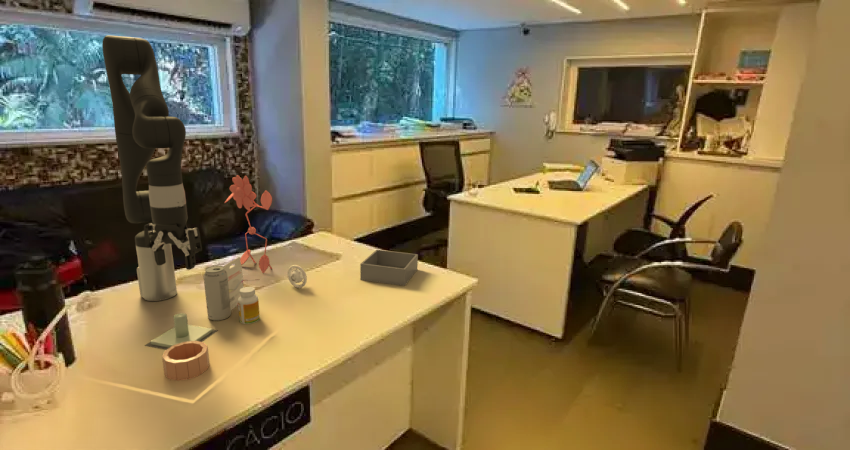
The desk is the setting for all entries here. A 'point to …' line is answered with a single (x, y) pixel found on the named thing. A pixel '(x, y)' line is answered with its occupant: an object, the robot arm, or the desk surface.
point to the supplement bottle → (248, 306)
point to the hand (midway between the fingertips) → (176, 266)
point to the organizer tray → (389, 274)
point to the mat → (167, 347)
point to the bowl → (185, 360)
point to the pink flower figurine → (243, 197)
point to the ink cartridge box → (234, 281)
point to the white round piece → (297, 276)
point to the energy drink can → (217, 293)
